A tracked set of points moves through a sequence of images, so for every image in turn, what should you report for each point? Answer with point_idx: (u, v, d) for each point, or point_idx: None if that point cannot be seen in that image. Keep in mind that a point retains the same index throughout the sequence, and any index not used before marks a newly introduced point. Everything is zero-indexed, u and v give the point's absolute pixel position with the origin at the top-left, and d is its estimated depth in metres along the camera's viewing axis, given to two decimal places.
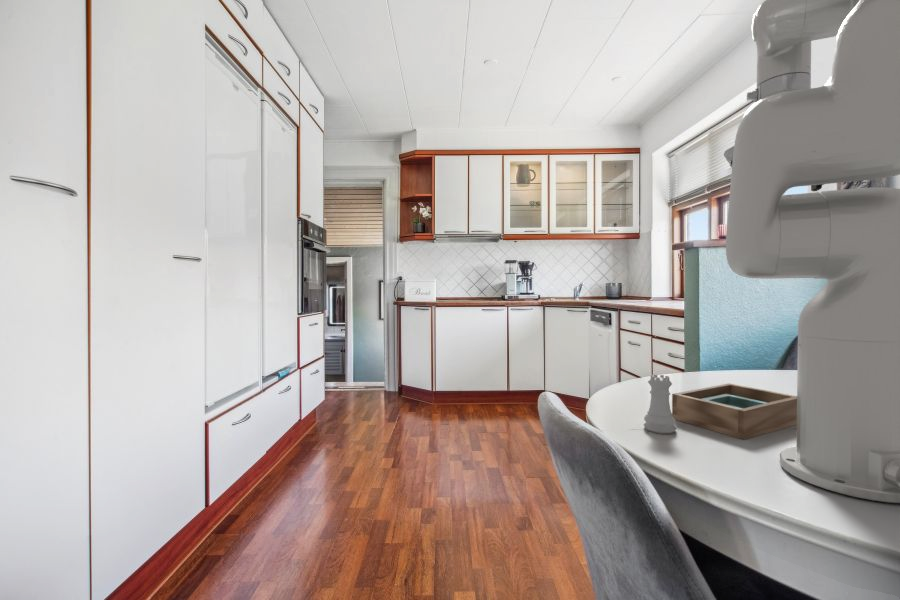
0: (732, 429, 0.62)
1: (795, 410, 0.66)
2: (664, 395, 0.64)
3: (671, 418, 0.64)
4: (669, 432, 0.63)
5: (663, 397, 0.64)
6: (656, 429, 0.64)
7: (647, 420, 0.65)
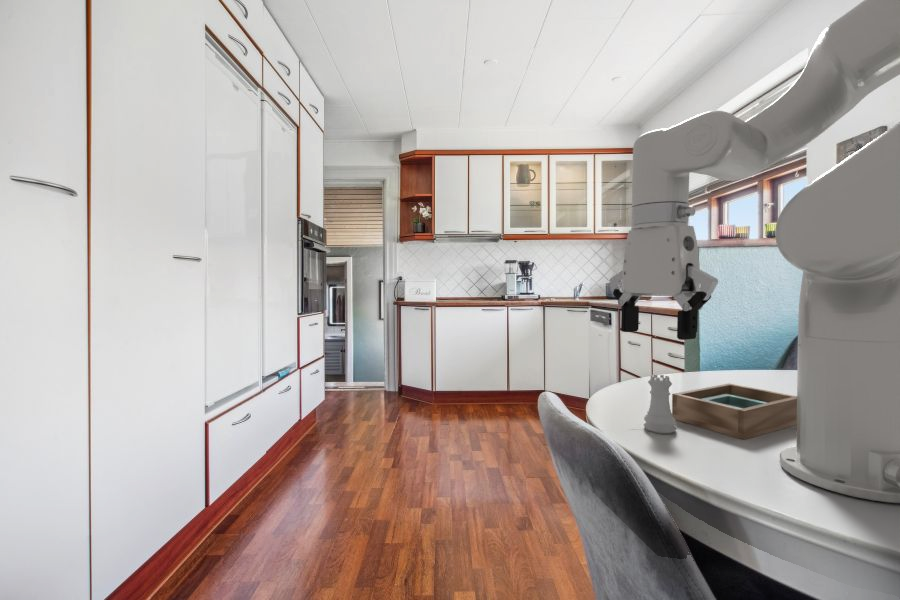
0: (732, 429, 0.62)
1: (795, 410, 0.66)
2: (664, 395, 0.64)
3: (671, 418, 0.64)
4: (669, 432, 0.63)
5: (663, 397, 0.64)
6: (656, 429, 0.64)
7: (647, 420, 0.65)
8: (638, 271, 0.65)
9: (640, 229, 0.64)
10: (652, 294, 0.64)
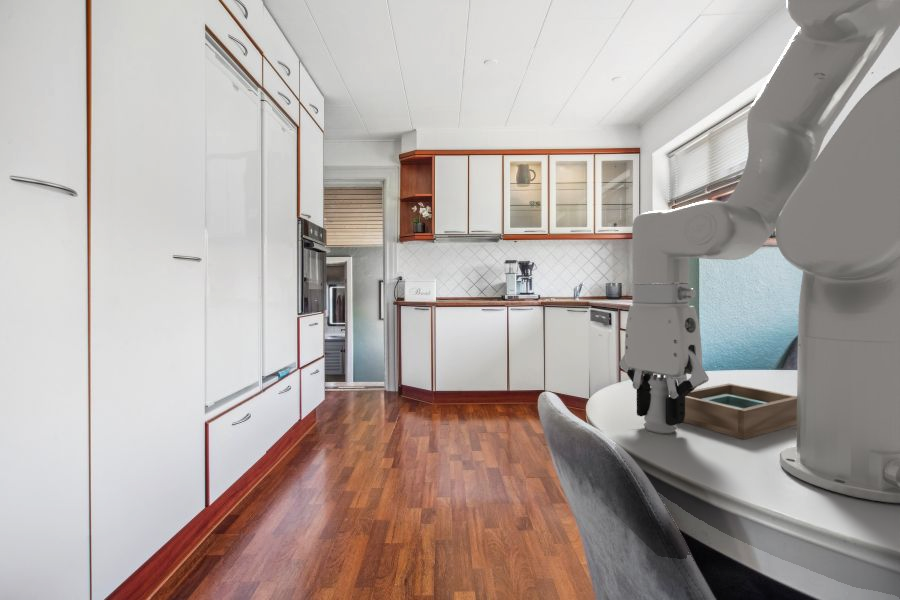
0: (732, 429, 0.62)
1: (795, 410, 0.66)
2: (664, 395, 0.64)
3: None
4: (669, 432, 0.63)
5: (663, 397, 0.64)
6: (656, 429, 0.64)
7: (647, 420, 0.65)
8: (640, 347, 0.65)
9: (641, 307, 0.65)
10: (655, 372, 0.64)
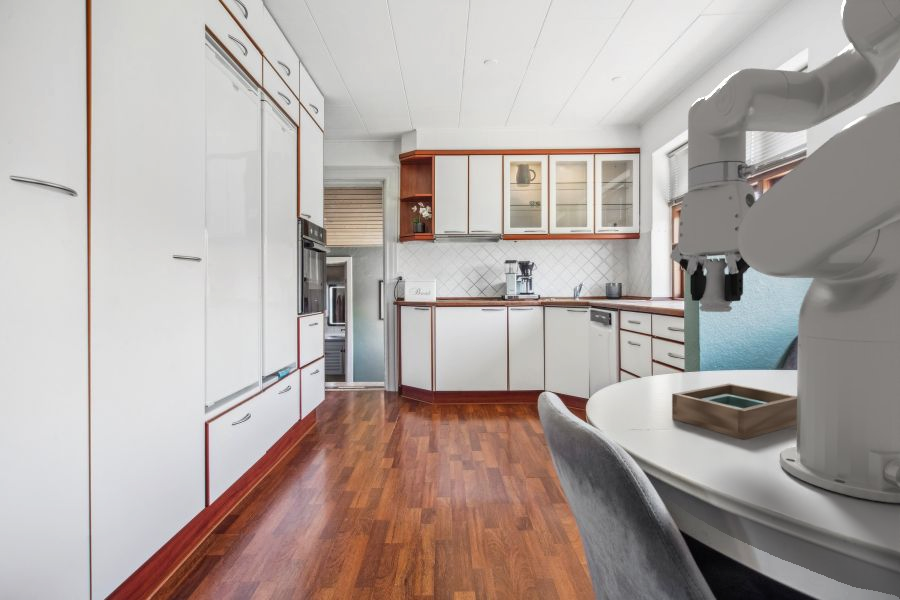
0: (732, 429, 0.62)
1: (795, 410, 0.66)
2: (721, 275, 0.66)
3: None
4: (727, 310, 0.65)
5: (720, 277, 0.66)
6: (714, 308, 0.66)
7: (704, 301, 0.67)
8: (696, 231, 0.67)
9: (698, 190, 0.67)
10: (713, 252, 0.66)
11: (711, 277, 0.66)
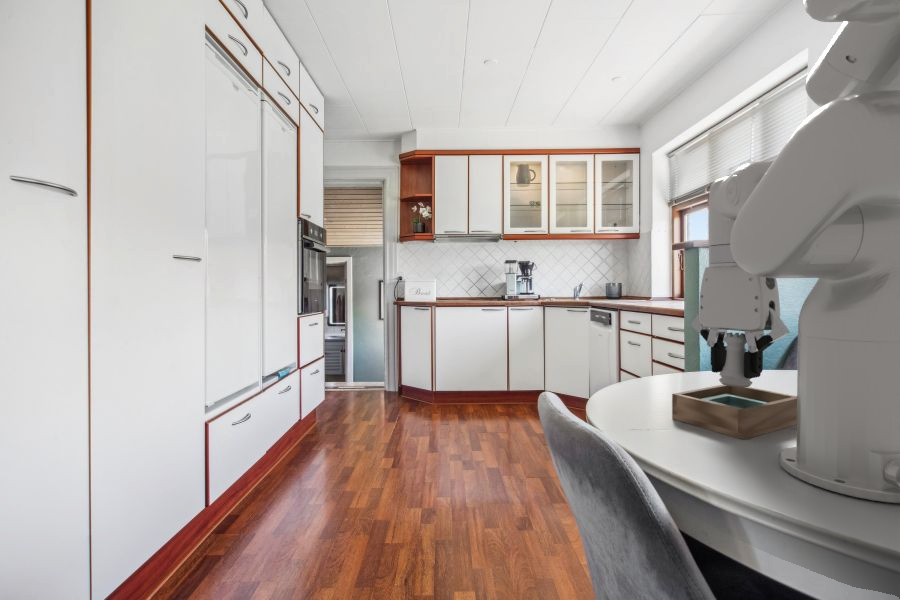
0: (732, 429, 0.62)
1: (795, 410, 0.66)
2: (741, 350, 0.67)
3: None
4: (746, 385, 0.67)
5: (740, 352, 0.67)
6: (734, 383, 0.67)
7: (724, 375, 0.68)
8: (717, 306, 0.69)
9: (719, 267, 0.68)
10: (733, 329, 0.67)
11: (731, 352, 0.68)
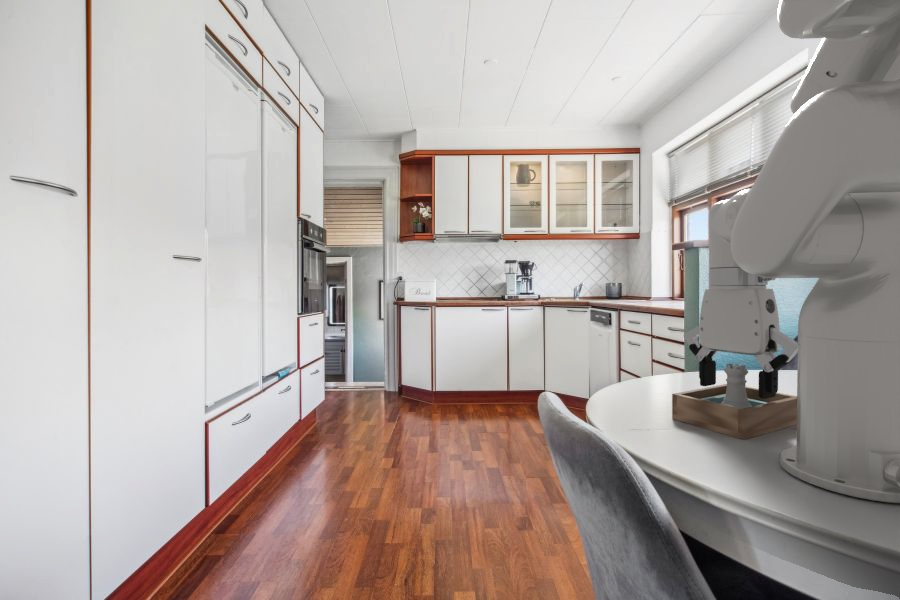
0: (732, 429, 0.62)
1: (795, 410, 0.66)
2: (741, 382, 0.67)
3: (748, 404, 0.67)
4: None
5: (740, 384, 0.67)
6: None
7: None
8: (717, 329, 0.69)
9: (718, 290, 0.68)
10: (733, 352, 0.67)
11: (731, 383, 0.68)
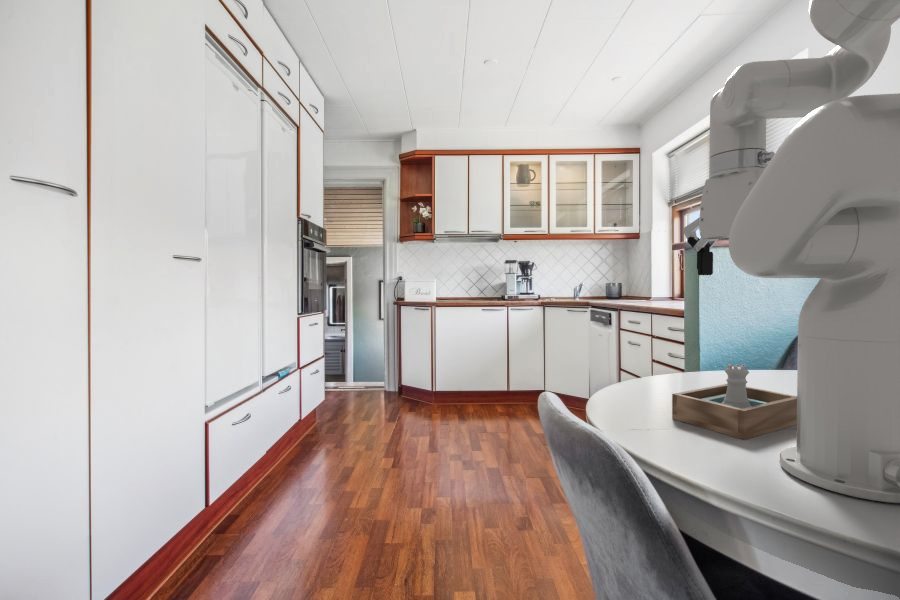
0: (732, 429, 0.62)
1: (795, 410, 0.66)
2: (742, 383, 0.67)
3: (748, 405, 0.67)
4: None
5: (741, 385, 0.67)
6: None
7: None
8: (717, 216, 0.71)
9: (719, 177, 0.70)
10: None
11: (732, 384, 0.68)
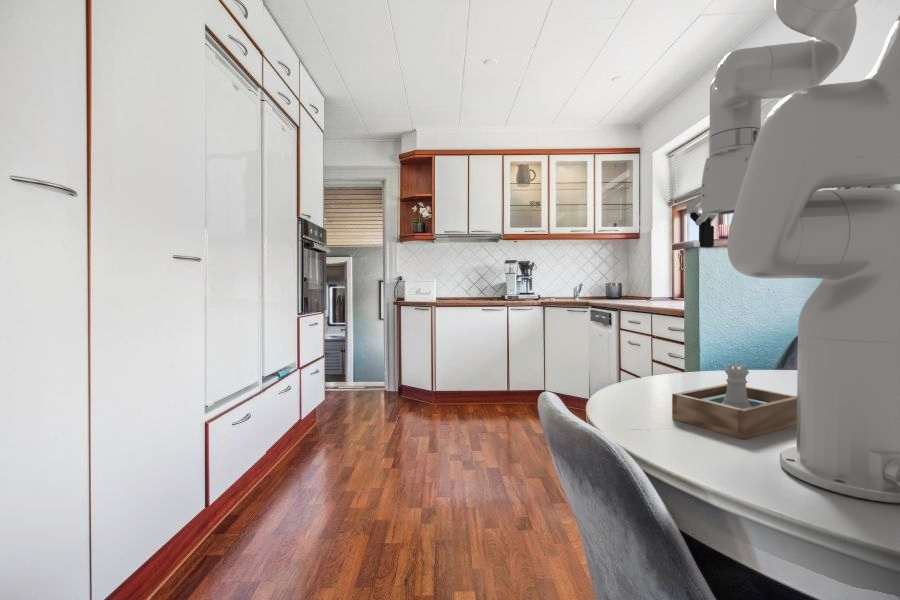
0: (732, 429, 0.62)
1: (795, 410, 0.66)
2: (742, 383, 0.67)
3: (748, 405, 0.67)
4: None
5: (741, 385, 0.67)
6: None
7: None
8: (716, 190, 0.77)
9: (718, 155, 0.76)
10: (731, 208, 0.75)
11: (732, 384, 0.68)
